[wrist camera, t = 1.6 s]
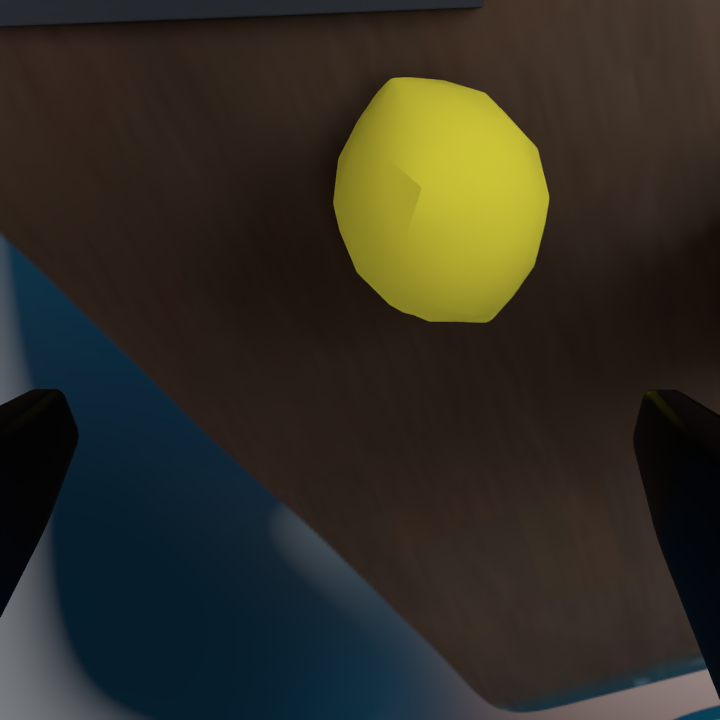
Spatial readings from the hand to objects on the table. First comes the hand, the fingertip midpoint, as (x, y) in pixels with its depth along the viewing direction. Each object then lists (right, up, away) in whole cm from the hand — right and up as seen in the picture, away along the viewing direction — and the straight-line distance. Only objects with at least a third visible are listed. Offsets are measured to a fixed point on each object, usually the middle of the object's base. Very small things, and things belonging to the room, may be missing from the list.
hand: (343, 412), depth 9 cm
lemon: (+3, +6, +9) cm, 11 cm away
